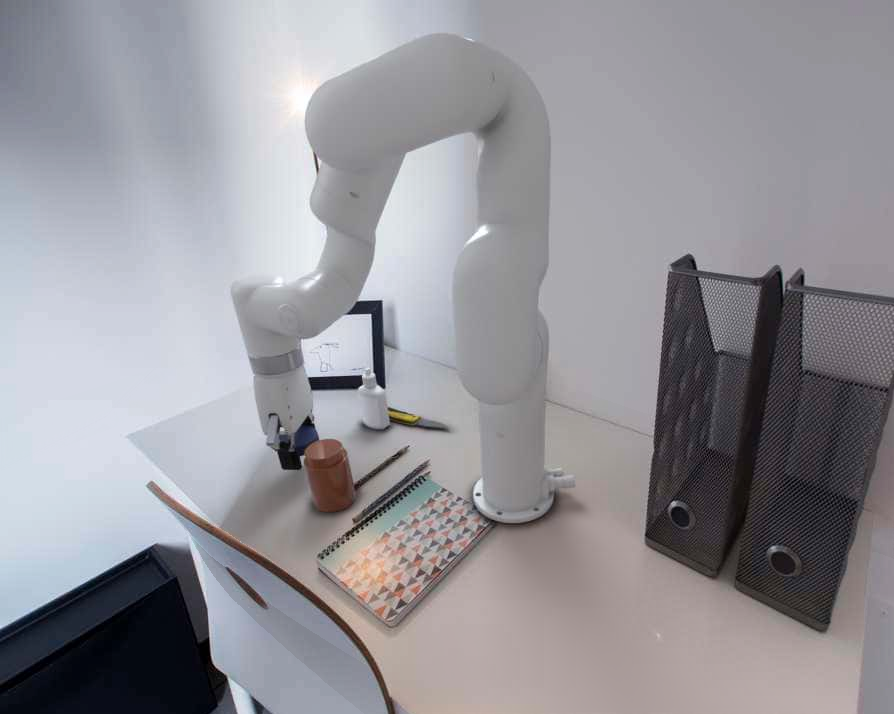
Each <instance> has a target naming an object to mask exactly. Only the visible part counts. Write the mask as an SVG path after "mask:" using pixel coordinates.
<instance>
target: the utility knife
mask: <svg viewBox="0 0 894 714" xmlns="http://www.w3.org/2000/svg"><path fill="white" fill-rule="evenodd" d="M387 407H388V414H389V420H391V421H392V422H396V423H399V424H403V425H404V424H406V425H409V426H417V427H419V426H421V427H425V428H437V429H439V428H440V429H441V428H442V429H450V426H448V425H446V424H445V423H442V422H439V421H436V420H431V419H427V418H422V417H421V416H419V415H416V414H412V413H408V412H407V411H403V410H398V409H395V408H393V407H390V406H387Z"/></svg>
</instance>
